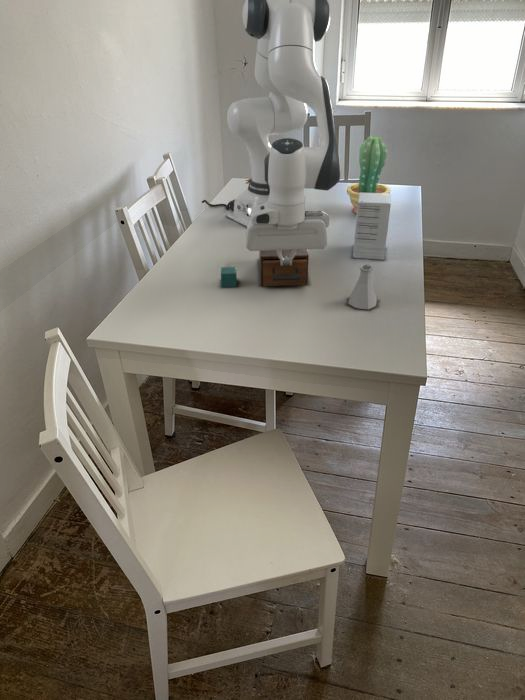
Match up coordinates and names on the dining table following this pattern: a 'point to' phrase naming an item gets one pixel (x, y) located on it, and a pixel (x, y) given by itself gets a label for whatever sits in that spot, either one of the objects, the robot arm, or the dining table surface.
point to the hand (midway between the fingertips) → (286, 264)
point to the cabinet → (272, 255)
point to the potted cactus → (369, 170)
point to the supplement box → (371, 225)
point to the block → (228, 277)
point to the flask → (363, 290)
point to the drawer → (284, 272)
